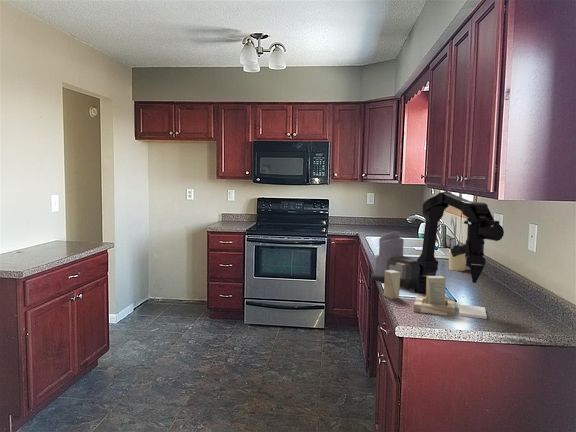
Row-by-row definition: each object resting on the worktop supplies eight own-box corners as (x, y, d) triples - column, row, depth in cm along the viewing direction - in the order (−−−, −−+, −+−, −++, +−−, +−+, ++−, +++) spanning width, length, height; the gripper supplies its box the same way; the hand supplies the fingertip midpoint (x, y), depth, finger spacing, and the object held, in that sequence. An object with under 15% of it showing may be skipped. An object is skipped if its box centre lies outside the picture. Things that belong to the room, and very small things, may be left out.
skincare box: (442, 307, 169) (443, 275, 168) (445, 310, 165) (446, 278, 164) (424, 306, 170) (426, 275, 169) (427, 310, 165) (428, 277, 165)
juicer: (362, 278, 220) (364, 229, 218) (388, 276, 227) (390, 228, 225) (404, 292, 193) (405, 236, 191) (431, 288, 200) (434, 234, 198)
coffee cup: (458, 270, 245) (459, 248, 244) (470, 273, 236) (471, 251, 235) (444, 271, 242) (444, 249, 241) (455, 274, 233) (456, 251, 233)
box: (383, 296, 184) (384, 270, 183) (391, 295, 186) (392, 269, 185) (391, 299, 179) (391, 272, 179) (399, 298, 181) (400, 271, 180)
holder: (416, 302, 176) (417, 295, 176) (454, 306, 171) (454, 299, 171) (413, 311, 163) (413, 304, 163) (454, 316, 158) (454, 309, 158)
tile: (458, 307, 170) (458, 304, 170) (484, 309, 167) (484, 307, 167) (458, 315, 159) (459, 313, 159) (486, 318, 156) (486, 316, 156)
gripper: (452, 233, 172) (450, 273, 173) (451, 239, 155) (449, 283, 156) (483, 235, 168) (481, 276, 169) (486, 240, 151) (484, 286, 152)
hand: (473, 280), depth 162 cm, fingers open, 9 cm apart
